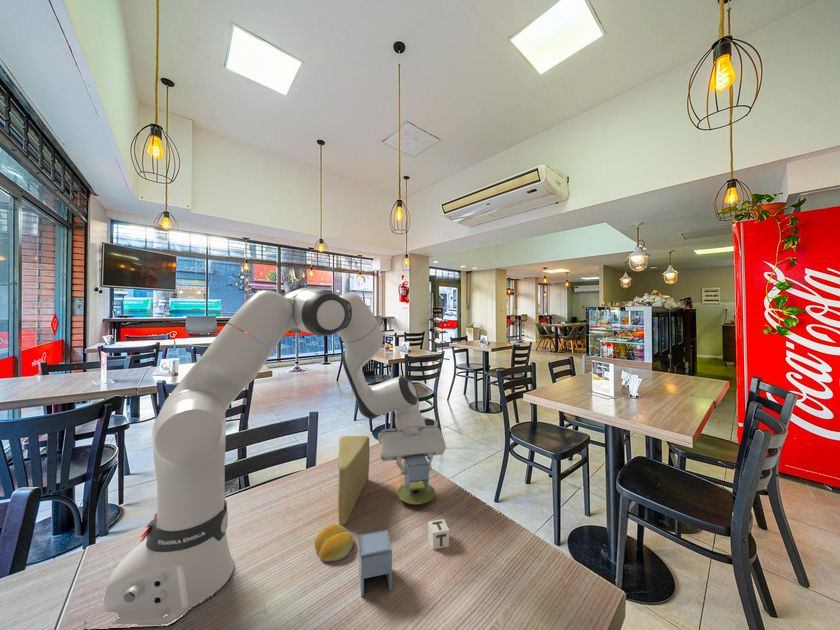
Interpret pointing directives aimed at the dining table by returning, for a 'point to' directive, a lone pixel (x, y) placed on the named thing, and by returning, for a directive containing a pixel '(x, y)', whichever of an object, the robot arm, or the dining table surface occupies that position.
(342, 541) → the bread roll
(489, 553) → the dining table surface
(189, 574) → the robot arm
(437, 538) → the letter cube
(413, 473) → the grey stool
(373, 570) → the gray notched block
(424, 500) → the mat
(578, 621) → the dining table surface
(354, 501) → the cheese
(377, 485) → the dining table surface
